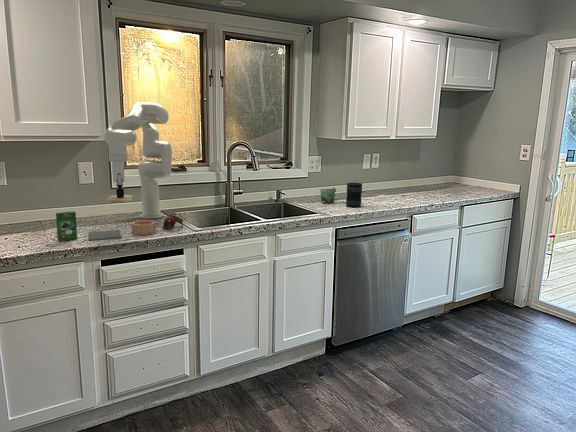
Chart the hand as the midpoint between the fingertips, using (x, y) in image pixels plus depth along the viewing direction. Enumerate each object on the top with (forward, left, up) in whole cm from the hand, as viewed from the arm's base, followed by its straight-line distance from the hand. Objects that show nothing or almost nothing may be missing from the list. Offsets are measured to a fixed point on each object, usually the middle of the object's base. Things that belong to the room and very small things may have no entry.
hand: (120, 196), depth 218 cm
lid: (0, 0, -2) cm, 2 cm away
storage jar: (-22, +144, -19) cm, 147 cm away
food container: (-36, +134, -19) cm, 140 cm away
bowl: (0, +10, -19) cm, 21 cm away
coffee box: (+2, -24, -19) cm, 31 cm away
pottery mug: (-3, +24, -19) cm, 31 cm away
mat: (0, -8, -19) cm, 20 cm away
